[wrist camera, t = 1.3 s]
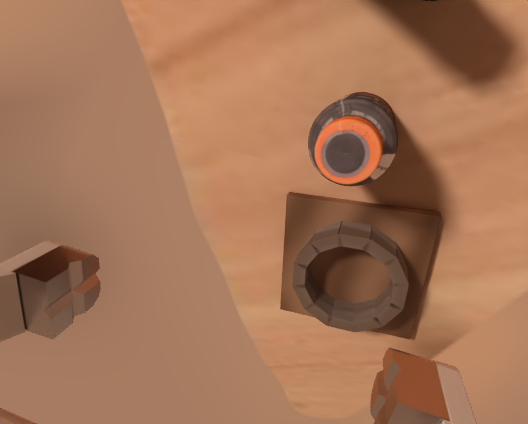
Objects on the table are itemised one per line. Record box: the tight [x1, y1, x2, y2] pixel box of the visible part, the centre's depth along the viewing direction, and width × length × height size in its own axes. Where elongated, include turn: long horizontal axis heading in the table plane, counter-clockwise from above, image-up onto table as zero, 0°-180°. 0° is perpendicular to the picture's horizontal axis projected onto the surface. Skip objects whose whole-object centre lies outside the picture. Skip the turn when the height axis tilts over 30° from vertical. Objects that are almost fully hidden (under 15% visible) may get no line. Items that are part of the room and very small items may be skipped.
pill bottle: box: [308, 92, 398, 186], centre depth 25 cm, size 6×6×11 cm
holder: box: [280, 192, 441, 339], centre depth 34 cm, size 14×14×4 cm
